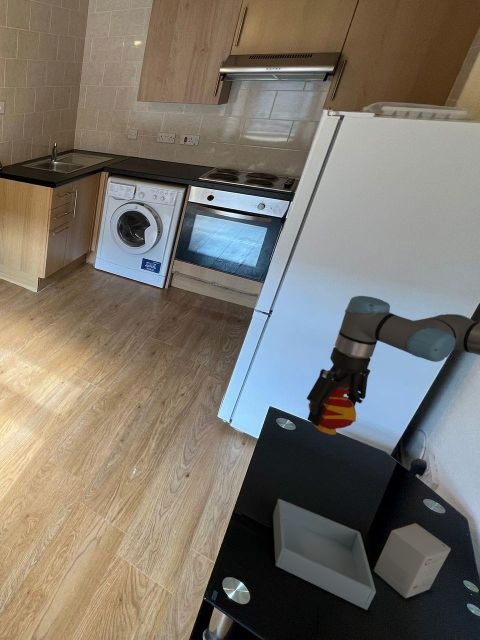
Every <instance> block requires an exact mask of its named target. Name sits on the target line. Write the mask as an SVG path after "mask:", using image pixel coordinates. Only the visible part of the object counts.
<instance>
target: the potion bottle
mask: <svg viewBox="0 0 480 640" xmlns="http://www.w3.org/2000/svg"><path fill="white" fill-rule="evenodd" d="M332 381H334V380H333V379H332ZM334 382H335V383H338V382H336V381H334ZM349 388H350V385H349V384H347V383H345V384H343V385H342V386H341V387H340V388H337V389H336V390H335V391H334V393H333V394H332V395H331V396H330V397H329V399H328V400H327V401H326V402H325V403H324V406H325V409H324V412H323V415H322V418H321V421H320V424H319V426H316V425H314V424H313V427H314V428H315V429H317V430H318V431H319V432H321V433H325V434H327V435H337V434H338V433H337V429H344V428H347V427H350V426H352V424H353V423H355V422H356V419H357V412H356V404H355V405H354V404H353V403H352V401H350V400H349V399H347V398H346V397H347V396H345V395H347V394H348V393H349V391H348V389H349ZM320 401H321V400H320ZM311 406H312V402H311V401H309V403H308V409H309V411H310V409H311Z"/></svg>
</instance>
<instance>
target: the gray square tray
mask: <svg viewBox="0 0 480 640" xmlns="http://www.w3.org/2000/svg"><path fill="white" fill-rule="evenodd" d="M272 521H273V523H272V524H273V541H274V543H273V544H274V559H275V560H274V561H275V562H274V563H275V567H277V568H279V569H282V570H284V571H285V572H287V573H290V574H292V575H294V576H296V577H298V578H300V579H302V580H304V581H307V582H308V583H310V584H312V585H314V586H317V588H318V587H319V588H320V589H322V590H324V591H327V592H329V593H331V594H333V595H335V596H337V597H339V598H342V599H343V600H345V601H347V602H349V603H351V604H353V605H355V606H357V607H360V608H362V609H364V610H365V611H368V609H369V607H370V605H371V603H372V601H373V599H374V597H375V595H376V594H377V591H376V587H375V583H374V579H373V575H372V571H371V568H370V564H369V561H368V556H367V553H366V550H365V545H364V542H363V538H362V534H361V532H360V531H358V530H356V529H354V528H351V527H348V526H346V525H343V524H341V523H339V522H336V521H334V520H331V519H329V518H326V517H324V516H322V515H319V514H317V513H315V512H312V511H310V510H307V509H305V508H303V507H301V506H298V505H295V504H293V503H291V502H288V501H285V500H283V499H280V498H278V499H277V502H276V505H275V508H274V510H273V514H272Z"/></svg>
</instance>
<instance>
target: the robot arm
mask: <svg viewBox="0 0 480 640" xmlns="http://www.w3.org/2000/svg"><path fill="white" fill-rule="evenodd" d="M390 308H391V305H390V304H389V302H387V301H385V300H383V299H380V298H377V297H373V296H367V295H356V296H353V297H351V298H350V299H349V302H348V304H347V307H346V309H345V310H344V315H343V319H342V322H341V324H340V325H341V326H340V328H339V330H338V334H337V337H336V340H335V343H334V347H333V349H332V351H331V354H330V358H329V359H330V361H331V363H332V366H331V368H330V369H328V370H326V369H324V368H321V369H320V372H319V375H318V378H317V379H316V381H315V383H314V384H313V386H312V388H311V390H310V392H309V393H308V395H307V396H306V400H308V402H310V401H311V402H312V406H311V409H310V410H309V413H308V416H307V421H308V422H310V423H311V424H313V426H314V425H316V426H319V424H320V421H321V418H322V415H323V412H324V409H325V406H324V403H325V402H326V401H327V400H328V399H329V397H330V396H331V395H332V394H333V393H334V391H335V390H336V389H337V388H340V387H341V386H342V385H343V384H345V383H347V384H349V385H350V388H349V389H348V391H349V393H348V394H346V396H345V397H346V398H347V399H349V400H350V401H352V403H353V404H354V405H355V406H356V404H357V403H358V404H362V403H363V402H364V401H363V400H364V399H366V396H367V395H366V394H367V387H368V380H369V379H368V378H369V375H370V373H371V369H369V366H370V362H371V358H372V357H373V355H374V352H375V349H376V346H377V343H378V342H380V343H383V344H385V345H388V346H391V347H393V348H396V349H397V350H400V351H403V352H405V353H408V354H410V355H412V356H415V357H417V358H421V359H422V360H426V361H429V362H433V363H438V362H441V361H444V360H445V359H446V358H448V357H449V356H450V355H451V353H452V352H453V351H454V350H457V351H460V352H464V353H465V352H466V353H469V354H474V355H477V356H480V322H478V321H474V320H473V319H471V318H470V317H468V316H465V315H462V314H457V313H454V314H453V313H445V314H438V315H435V316H431V317H426V318H421V319H416V320H415V319H414V320H412V319H409V318H405V317H402V316H400V315H397V314H395V313H392V312H390V311H391V310H390ZM332 380H334V381H336V382H338V383H335V382H334V381H332ZM320 400H321V401H320Z"/></svg>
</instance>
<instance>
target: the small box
mask: <svg viewBox="0 0 480 640" xmlns="http://www.w3.org/2000/svg"><path fill="white" fill-rule="evenodd" d="M450 552H451V547H450V546H448V545H447V544H446V543H444V542H443V541H442V540H440V539H439V538H438V537H436V536H435V535H433V534H432V533H431V532H429V531H428V530H426V529H425V528H424V527H422V526H421V525H419V524H418V523H416V522H414V523H412V524H408V525H404V526H401V527H398V528H396V529H395V528H394V529H392V530H391V531H390V533H389V535H388V538H387V540H386V542H385V544H384V546H383V548H382V551H381V553H380V555H379V557H378V560H377V562H376V564H375V566H374V568H373V572H374V573H375V574H377V575H378V576H379V577H380V578H381V579H382V580H383V581H384V582H386V584H388V585H389V586H390V587H391V588H393V589H394V590H395V591H396V592H397V593H398V594H399V595H401V596H402V597H403V598H404V599H408V598H410V597H413V596H416V595H418V594H422V593H424V592H426V591H428V590H430V589H431V587H432V585H433V583H434V582H435V580H436V578H437V575H438V574H439V572H440V570H441V568H442V566H443V565H444V562H445V561H446V559H447V557H448V556H449V553H450Z"/></svg>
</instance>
